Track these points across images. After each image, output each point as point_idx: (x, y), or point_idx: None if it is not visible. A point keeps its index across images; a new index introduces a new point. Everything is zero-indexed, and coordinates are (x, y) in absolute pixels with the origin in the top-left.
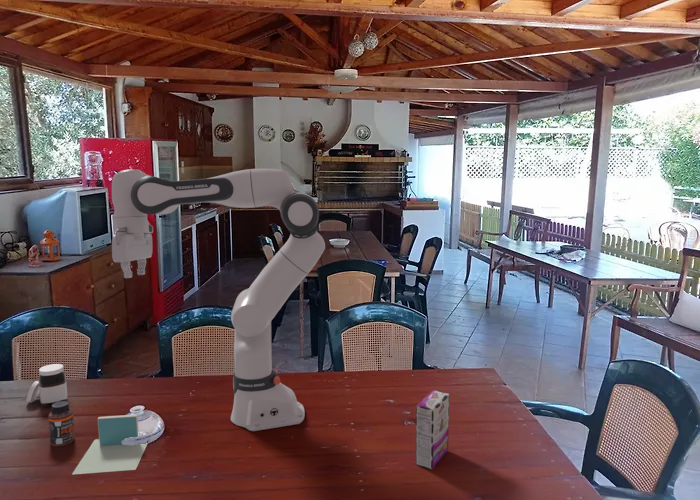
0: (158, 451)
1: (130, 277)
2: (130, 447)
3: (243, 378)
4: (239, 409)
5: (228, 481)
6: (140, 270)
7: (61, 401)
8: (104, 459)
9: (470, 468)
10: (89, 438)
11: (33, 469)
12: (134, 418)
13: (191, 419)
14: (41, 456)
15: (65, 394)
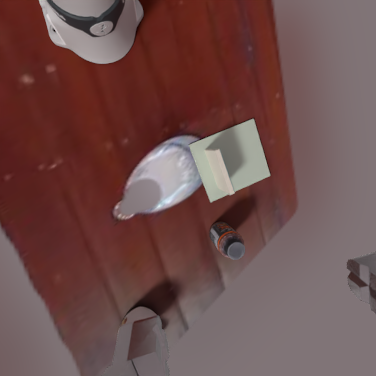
0: (214, 117)
1: (368, 254)
2: None
3: None
4: (127, 27)
5: (252, 4)
6: (160, 355)
7: (229, 255)
8: (242, 163)
9: None
10: (206, 211)
11: (265, 218)
12: (220, 150)
13: (133, 119)
14: (245, 230)
15: (140, 310)
